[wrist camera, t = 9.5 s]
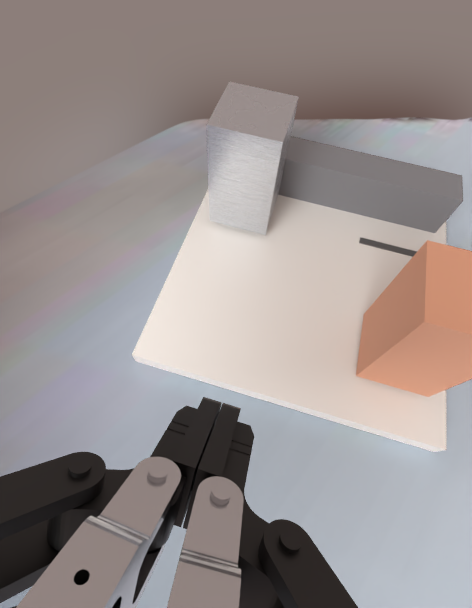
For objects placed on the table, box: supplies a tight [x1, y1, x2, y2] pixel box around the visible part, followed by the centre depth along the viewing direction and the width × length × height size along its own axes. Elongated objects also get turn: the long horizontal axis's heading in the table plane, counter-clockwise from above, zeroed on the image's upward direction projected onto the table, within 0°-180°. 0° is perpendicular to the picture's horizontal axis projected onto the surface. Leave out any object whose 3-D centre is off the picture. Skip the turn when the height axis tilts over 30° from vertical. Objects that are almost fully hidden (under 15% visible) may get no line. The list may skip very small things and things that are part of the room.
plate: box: [132, 136, 463, 452], centre depth 27 cm, size 22×22×6 cm
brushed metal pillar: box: [207, 81, 299, 235], centre depth 27 cm, size 5×5×9 cm
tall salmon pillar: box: [356, 240, 472, 397], centre depth 21 cm, size 5×5×9 cm
